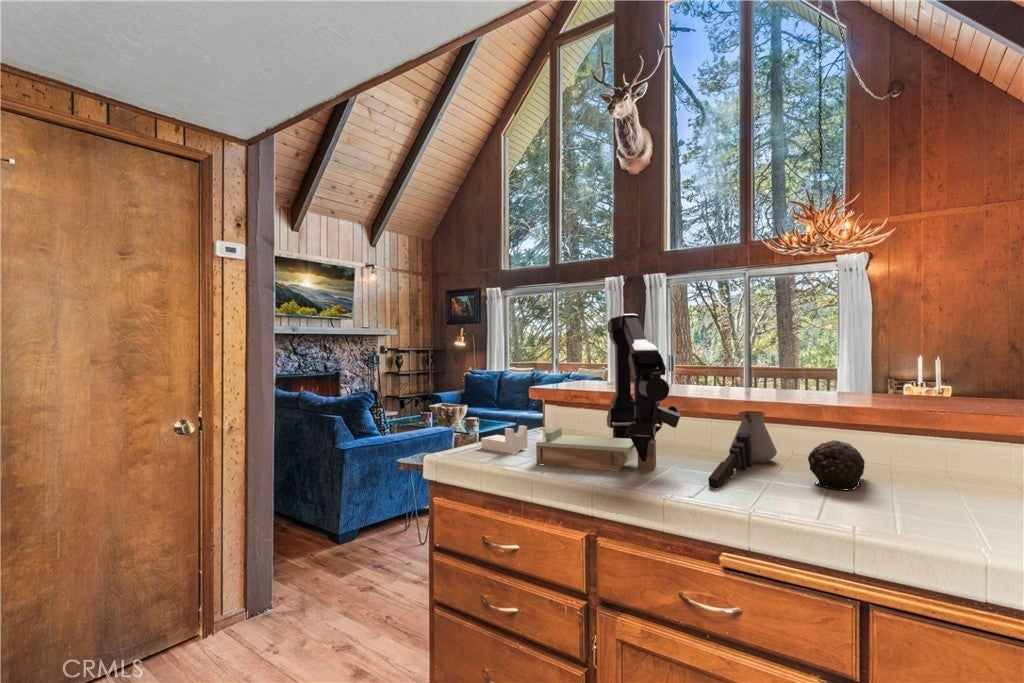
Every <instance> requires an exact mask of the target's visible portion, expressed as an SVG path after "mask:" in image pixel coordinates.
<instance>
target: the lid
mask: <svg viewBox="0 0 1024 683" xmlns="http://www.w3.org/2000/svg"><path fill="white" fill-rule="evenodd" d="M562 433H563V432H562V427H560V426H559V427H554V428H551V429H549V430H548V431H545V437H543V438H540V439H539V440H537V441H536V442H535V445H536V446H546V447H562V448H577V449H593V450H608V451H624V452H627V453H630V452H632V450H633V449H634V448H635V446H634V444H633V442H632V440H631V439H627V438H613V437H607V436H606V437H604V436H589V435H588V436H587V435H569V434H562ZM536 446H535V447H536Z"/></svg>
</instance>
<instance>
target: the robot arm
mask: <svg viewBox="0 0 1024 683" xmlns="http://www.w3.org/2000/svg"><path fill="white" fill-rule="evenodd" d="M606 327H607V333H608V334H609V339H610V341H611V342H612V344H613V345H614V368H615V370H614V372H615V373H614V376H615V379H614V380H615V381H614V382H615V394H614V395H613V397H612V399H611V400H610V402H609V404H610V407H609V408H608V411H607V412H608V413H607V415H606V426H607V427H608V428H610V429H612V438H627V439H631V440H632V442H633V444H634V446H635V447H634V448H635V450H636V452H637V455H638V454H639V456H640V459H641V461H644V462H645V461H646V459H647V453H648V447H649V441H650V440H651V439H652V440H656V434H657V433H659V431H660V430H661V429H662V427H663V425H664V424H666V425H667V426H668V425H669V427H671V428H673V429H674V428H675V429H676V427H677V426H678V424H679V421H680V418H681V415H682V414H681V412H678V407H677V406H674V405H670V406H669V407H668V408H667V407H664V406H660V405H661V404H660V403H661V402H662V401H664V400H665V399H666V398H668V396H669V393H670V386H669V384H668V382H667V381H666V380H665V379H663V378H662V377H661V376H665V375H666V370H667V368H666V365H665V362H664V359H663V357H662V355H661V352H659V350H658V348H657V346H656V345H655V344H653V343H651V342H650V341H648V340H647V336H646V335H645V332H644V331H643V327H642V325H641V323H640V316H639V314H636V313H622V314H620V315H619V316H615V317H611V318H610V319H609V320H608V321H607V326H606ZM631 373H632V375H633V387H634V388H633V396H634V397H633V396H632V393H631V388H632V387H631V381H632V380H631Z"/></svg>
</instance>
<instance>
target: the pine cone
mask: <svg viewBox="0 0 1024 683" xmlns="http://www.w3.org/2000/svg"><path fill="white" fill-rule="evenodd" d="M807 460H808V461H807V462H808V464H809V470H810V471H811V472H812V474H813V475H814V476H815V477H816V479H817V481H818V480H819V483H818V484H820V485H823V486H822V487H824V486H825V487H824V488H827V487H828V488H827V489H832V488H835V489H834V490H837V489H853V488H855V487H858V488H859V486H857V485H858V482H859V480H860V481H861V477H862V476H863V475H864V470H865V463H866V462H865V459H864V458H863V455H861V453H860V452H859V450H858V449H857V448H856V447H854V446H852V445H851V444H850V443H848V442H844V441H840V440H834V439H833V440H830V441H826V442H822V443H820V444H818V446H815V447H814V448H813V449H812V450H811V452H810V453H809V455H808V457H807ZM820 485H819V486H820ZM826 486H827V487H826ZM829 487H830V488H829ZM853 490H854V489H853Z"/></svg>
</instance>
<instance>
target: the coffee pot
mask: <svg viewBox="0 0 1024 683" xmlns="http://www.w3.org/2000/svg"><path fill="white" fill-rule="evenodd" d="M737 413H738V414H739V417H740V418H741V421H740V424H739V427H738V429H737V430H736V433H735V436H734V437H733V440H732V442H731V444H730V447H729V449H730V448H732V445H733V444H734V443H735V442H736V443H737V440H736V436H737V435H738V433H747V434H750V437H751V449H752V450H751V464H756V463H761V464H767V463H766V462H768V463H769V462H770V461H772V460H773V459H774V458H775V456H776V455H777V453H778V451H777V448H776V446H775V444H774V442H773V440H772V438H771V435H770V434H769V433H770V432H768V428H767V427H766V425H765V423H764V418H765V417H764V416H765V415H766V413H765V412H764V411H758V410H757V411H755V410H753V411H752V410H746V411H745V410H744V411H742V410H741V411H738V412H737Z"/></svg>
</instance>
